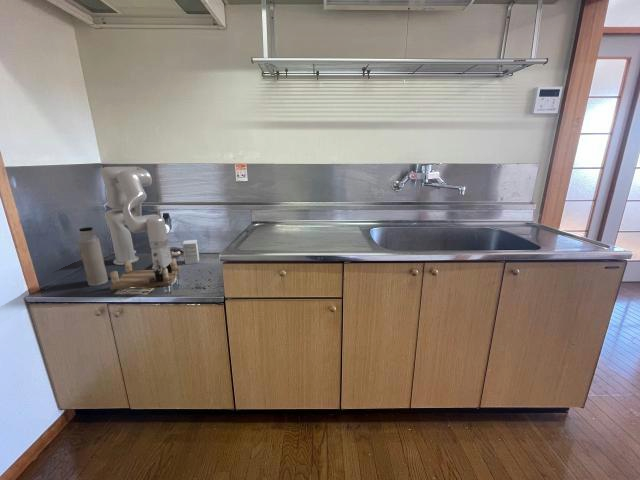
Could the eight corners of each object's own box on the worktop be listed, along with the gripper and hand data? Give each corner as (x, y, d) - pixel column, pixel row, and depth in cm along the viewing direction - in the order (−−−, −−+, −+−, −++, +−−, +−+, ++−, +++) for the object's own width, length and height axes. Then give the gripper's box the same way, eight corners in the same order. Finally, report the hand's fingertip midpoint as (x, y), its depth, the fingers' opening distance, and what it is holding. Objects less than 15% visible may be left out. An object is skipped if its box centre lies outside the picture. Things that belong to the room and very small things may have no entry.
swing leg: (148, 282, 137) (146, 271, 135) (150, 279, 140) (148, 268, 138) (167, 281, 138) (165, 269, 136) (170, 278, 141) (168, 267, 139)
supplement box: (186, 260, 172) (183, 240, 169) (199, 259, 174) (197, 239, 171) (184, 264, 166) (182, 243, 162) (198, 263, 168) (196, 242, 164)
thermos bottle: (85, 286, 137) (71, 230, 129) (91, 280, 144) (78, 226, 136) (105, 284, 139) (92, 229, 131) (110, 278, 147) (98, 225, 139)
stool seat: (127, 274, 151) (124, 260, 149) (179, 271, 155) (177, 257, 153) (110, 289, 134) (106, 274, 132) (169, 285, 138) (166, 270, 136)
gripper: (159, 249, 125) (164, 284, 130) (174, 238, 142) (179, 269, 147) (141, 249, 125) (147, 284, 130) (158, 238, 141) (164, 270, 146)
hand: (164, 276), depth 138 cm, fingers open, 9 cm apart
